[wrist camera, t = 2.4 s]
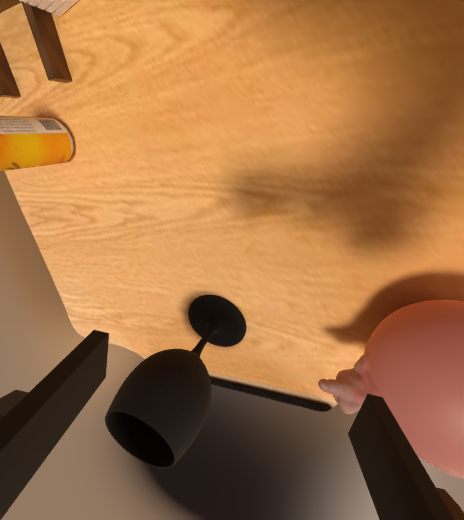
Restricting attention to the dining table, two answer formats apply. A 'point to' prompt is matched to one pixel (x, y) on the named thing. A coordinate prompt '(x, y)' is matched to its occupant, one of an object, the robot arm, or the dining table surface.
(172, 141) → the dining table surface
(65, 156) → the beer can
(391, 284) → the dining table surface
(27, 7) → the brown wooden u-shaped frame
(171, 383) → the wine glass
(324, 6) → the dining table surface
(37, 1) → the stack of papers
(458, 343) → the balloon
